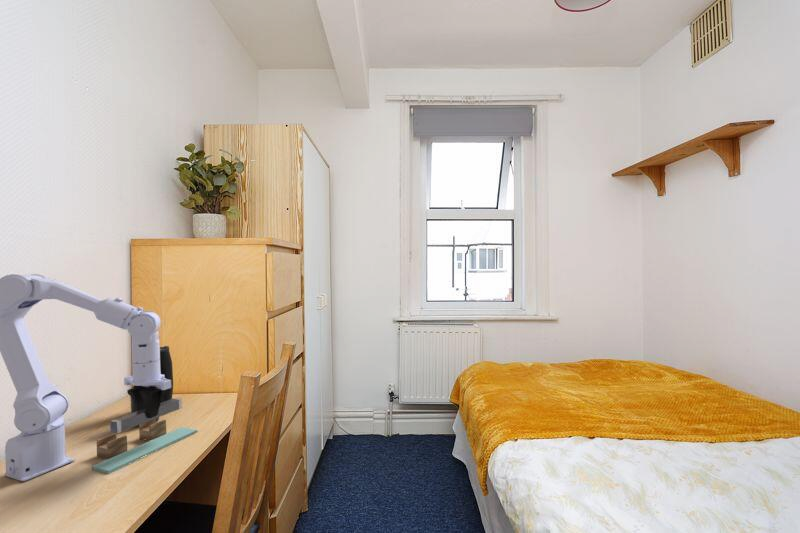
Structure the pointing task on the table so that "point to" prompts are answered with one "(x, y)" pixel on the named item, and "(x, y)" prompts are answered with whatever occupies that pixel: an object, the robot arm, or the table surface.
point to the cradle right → (152, 429)
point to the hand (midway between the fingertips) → (148, 416)
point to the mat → (143, 450)
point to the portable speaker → (166, 371)
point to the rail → (143, 416)
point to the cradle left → (111, 446)
